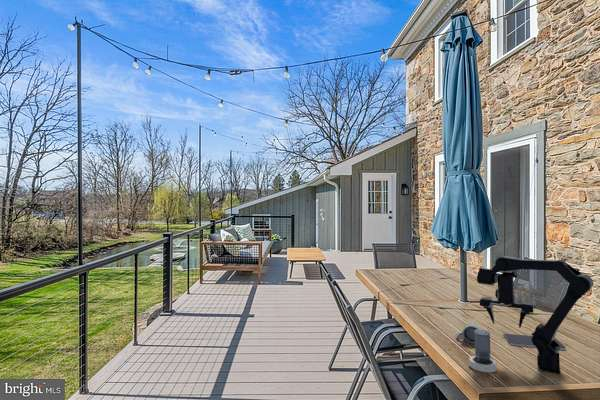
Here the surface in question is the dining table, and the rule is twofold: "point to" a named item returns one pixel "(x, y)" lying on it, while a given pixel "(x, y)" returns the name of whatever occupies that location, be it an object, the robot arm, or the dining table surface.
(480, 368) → the collar
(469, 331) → the ceramic mug
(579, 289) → the robot arm
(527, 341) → the notebook
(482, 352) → the canister
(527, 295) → the ceramic cottage
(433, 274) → the dining table surface
